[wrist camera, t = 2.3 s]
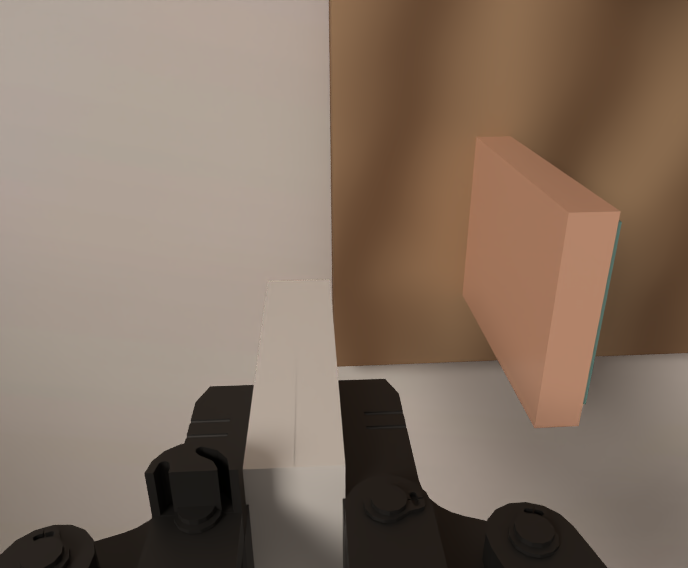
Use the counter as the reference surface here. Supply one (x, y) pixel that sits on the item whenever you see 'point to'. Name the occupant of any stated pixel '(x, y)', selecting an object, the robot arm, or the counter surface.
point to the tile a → (538, 275)
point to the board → (497, 121)
